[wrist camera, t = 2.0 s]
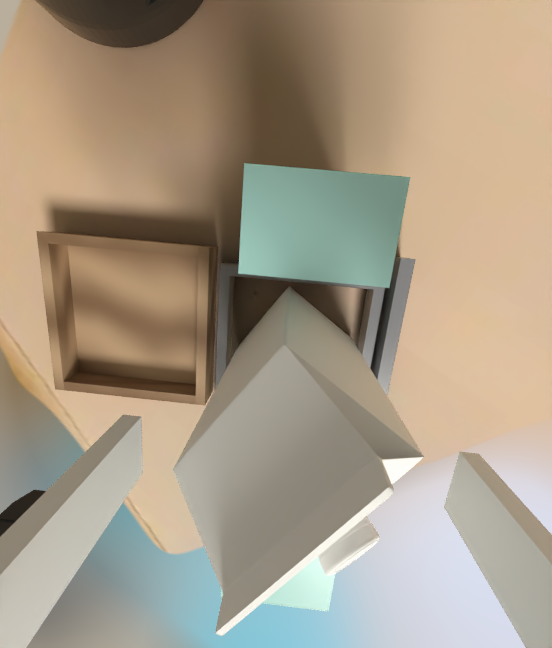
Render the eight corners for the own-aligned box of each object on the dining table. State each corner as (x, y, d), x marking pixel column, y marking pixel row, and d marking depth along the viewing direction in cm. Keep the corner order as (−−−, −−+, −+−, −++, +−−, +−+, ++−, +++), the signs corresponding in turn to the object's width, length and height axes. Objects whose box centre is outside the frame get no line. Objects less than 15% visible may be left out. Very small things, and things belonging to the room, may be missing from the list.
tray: (62, 232, 25) (36, 231, 22) (217, 246, 25) (209, 247, 22) (76, 376, 28) (55, 389, 26) (212, 390, 28) (204, 405, 25)
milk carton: (237, 346, 27) (116, 572, 8) (288, 285, 25) (278, 401, 7) (298, 394, 28) (308, 692, 9) (352, 338, 26) (493, 567, 8)
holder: (228, 194, 23) (154, 140, 11) (409, 210, 23) (548, 172, 11) (217, 446, 30) (162, 596, 17) (360, 462, 29) (412, 628, 17)
